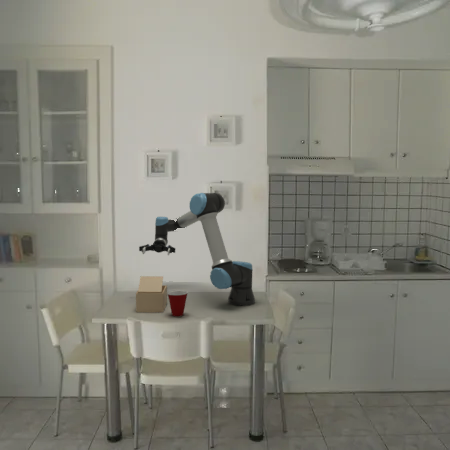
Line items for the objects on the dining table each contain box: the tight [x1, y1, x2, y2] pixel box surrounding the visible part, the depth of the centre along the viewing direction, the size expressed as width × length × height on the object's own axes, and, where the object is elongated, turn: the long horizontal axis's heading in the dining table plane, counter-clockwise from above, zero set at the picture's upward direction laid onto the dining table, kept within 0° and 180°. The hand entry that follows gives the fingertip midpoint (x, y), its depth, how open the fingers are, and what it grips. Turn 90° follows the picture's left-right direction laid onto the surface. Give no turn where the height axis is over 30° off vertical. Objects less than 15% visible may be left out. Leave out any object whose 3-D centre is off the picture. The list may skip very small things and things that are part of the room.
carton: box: [135, 284, 168, 313], centre depth 250 cm, size 14×18×10 cm
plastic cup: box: [167, 290, 189, 317], centre depth 237 cm, size 11×11×12 cm
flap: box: [137, 275, 164, 292], centre depth 244 cm, size 12×1×10 cm
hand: (155, 252), depth 255 cm, fingers open, 13 cm apart
